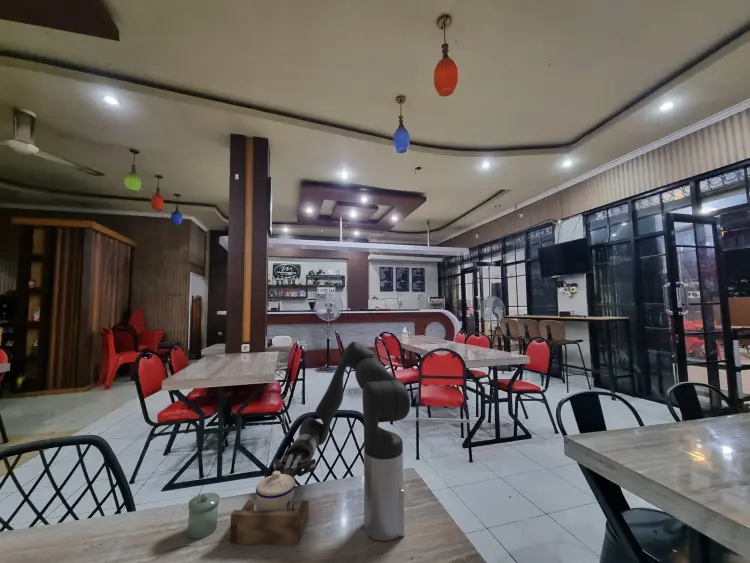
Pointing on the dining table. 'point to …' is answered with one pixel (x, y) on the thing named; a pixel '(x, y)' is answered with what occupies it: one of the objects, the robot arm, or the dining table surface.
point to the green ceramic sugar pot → (203, 515)
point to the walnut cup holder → (268, 525)
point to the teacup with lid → (276, 493)
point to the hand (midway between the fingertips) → (284, 480)
